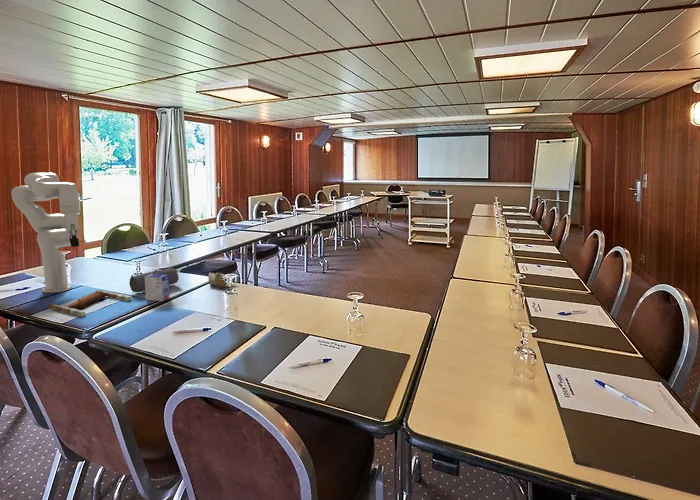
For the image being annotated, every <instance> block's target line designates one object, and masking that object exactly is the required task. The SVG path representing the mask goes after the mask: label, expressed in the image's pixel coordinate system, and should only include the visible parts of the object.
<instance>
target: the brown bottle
mask: <svg viewBox="0 0 700 500" xmlns="http://www.w3.org/2000/svg"><path fill="white" fill-rule="evenodd" d="M102 291H103V290H100V292H96V291H95V292H92V293H89V294H87V295H85V296H82V297H80V298H78V299H77V300H75V301H73V302H72V303H70V304H69V305H67V306H66V307H69V308H73V309H77V310H83V309H84V308H86V307H87V306H90V305H91V304H93V303H95V302H96V301H99V300H101V299H104V298H103V297H105V294H104V292H102ZM105 298H106V297H105Z"/></svg>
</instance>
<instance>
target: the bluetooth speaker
mask: <svg viewBox="0 0 700 500" xmlns="http://www.w3.org/2000/svg"><path fill="white" fill-rule="evenodd" d="M159 270H160V271H161V274H160V275H168V281H169V286H170V285H174V284H176V283H179V282H178V281H179V278H180V277H179V274H178V271H177V270H176V269H175V268H165V269H159ZM154 271H155V270H153V271H150V272H144V273H140V274H137V275H133V276H130V278H129V288H130V290H131V292H134V293H140V292H146V290H145V276H147V275H150V274H154ZM155 273H160V272H155Z"/></svg>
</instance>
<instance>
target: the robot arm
mask: <svg viewBox="0 0 700 500" xmlns="http://www.w3.org/2000/svg"><path fill="white" fill-rule="evenodd" d="M23 180H24V184H25V185H19V186H15V187H14V188H12V190H11V199H12V201H13V203H14V205H15V206H16V208H17V209H18V210H19V211H20V212H21V213H22V214H23V215H24V216H25V218H26V219H27V220H28V222H29V225H31V227H32V229H33V230H34V231H35V233H37V236H36V240H37V241H36V242H37V244H38V247H39V251H40V254H41V261H42V268H43V275H44V276H43V277H44V281H43V282H42V283H43V285H44V287H42V293H47V294H54V293H61V292H62V293H63V292H66V291H69V290H71V289H72V288H73V285H72V284H69V281H68V275H67V267H66V259H65V254H64V253H63V252H62V251H61V250H59V248H64V247H71V248H76V247H80V241H79V235H78V234H79V218H78V217H79V216H78V213H80V212H81V210H80V202H79V194H78V187H77V184H76V183H74V182H67V181H62V182H61V181H60V177H59V176H58V175H57V174H56V173H53V172H31V173H28V174H27V175H25V177H24V179H23ZM53 199H58V200H59V201H58V202H59V207H60V209H59V210H60V213H47V212H46V211H45V209H44V208H43V207H42V206H41V205H39V204H37V203H35V202H47V201H52V200H53Z"/></svg>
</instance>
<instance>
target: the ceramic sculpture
mask: <svg viewBox="0 0 700 500" xmlns="http://www.w3.org/2000/svg"><path fill="white" fill-rule="evenodd" d="M225 275H226V274H225V273H221V271H218V272H216V273H213V272H211V271H210V272H208V284H209V286H211V287H212V286H213V287H214V286H217V287H219V288H220V289H224V288H227V285H228V284H227V283H226V282H225V281H224V280H222V277H223V276H225ZM234 282H235V283H234V284H237V281H235V280H234Z"/></svg>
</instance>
